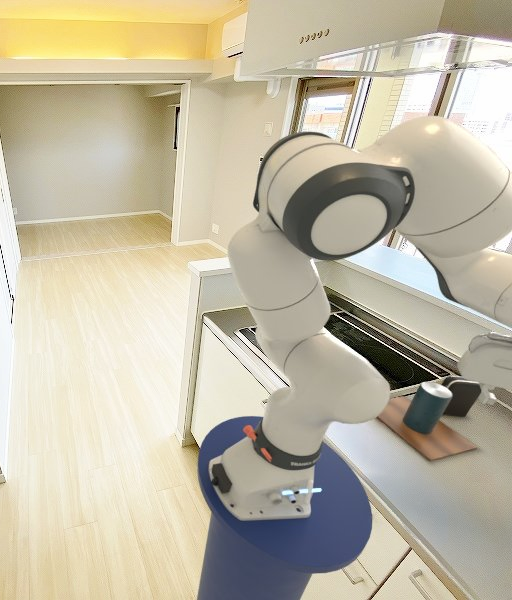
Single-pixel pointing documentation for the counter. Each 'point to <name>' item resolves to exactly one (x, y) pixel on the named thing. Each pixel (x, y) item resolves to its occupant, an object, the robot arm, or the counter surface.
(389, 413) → the wooden board
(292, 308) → the robot arm
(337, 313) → the counter surface
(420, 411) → the can
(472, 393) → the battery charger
